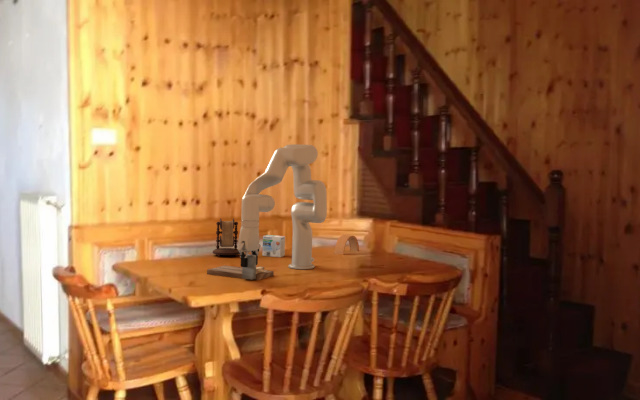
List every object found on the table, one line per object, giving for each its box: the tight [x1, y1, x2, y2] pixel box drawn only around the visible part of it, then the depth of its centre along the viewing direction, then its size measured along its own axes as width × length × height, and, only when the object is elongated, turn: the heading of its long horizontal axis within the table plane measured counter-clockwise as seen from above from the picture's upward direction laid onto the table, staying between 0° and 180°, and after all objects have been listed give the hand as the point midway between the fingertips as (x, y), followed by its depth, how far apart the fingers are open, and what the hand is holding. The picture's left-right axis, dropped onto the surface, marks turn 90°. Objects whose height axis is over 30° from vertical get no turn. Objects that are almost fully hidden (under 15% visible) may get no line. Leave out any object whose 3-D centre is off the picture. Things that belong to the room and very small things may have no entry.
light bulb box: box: [262, 234, 286, 258], centre depth 357 cm, size 11×7×11 cm, turn 73°
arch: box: [334, 234, 360, 255], centre depth 378 cm, size 6×20×10 cm, turn 150°
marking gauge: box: [241, 253, 265, 280], centre depth 289 cm, size 12×5×10 cm, turn 154°
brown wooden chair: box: [212, 217, 240, 258], centre depth 352 cm, size 15×15×20 cm
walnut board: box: [206, 265, 275, 281], centre depth 297 cm, size 14×26×2 cm, turn 64°
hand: (249, 265), depth 284 cm, fingers open, 7 cm apart
